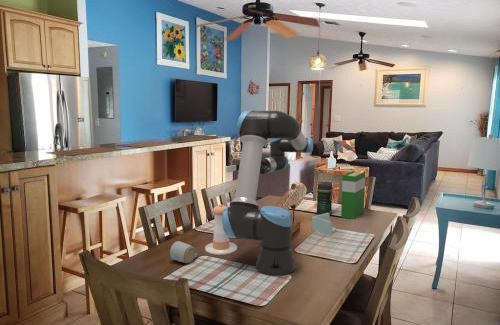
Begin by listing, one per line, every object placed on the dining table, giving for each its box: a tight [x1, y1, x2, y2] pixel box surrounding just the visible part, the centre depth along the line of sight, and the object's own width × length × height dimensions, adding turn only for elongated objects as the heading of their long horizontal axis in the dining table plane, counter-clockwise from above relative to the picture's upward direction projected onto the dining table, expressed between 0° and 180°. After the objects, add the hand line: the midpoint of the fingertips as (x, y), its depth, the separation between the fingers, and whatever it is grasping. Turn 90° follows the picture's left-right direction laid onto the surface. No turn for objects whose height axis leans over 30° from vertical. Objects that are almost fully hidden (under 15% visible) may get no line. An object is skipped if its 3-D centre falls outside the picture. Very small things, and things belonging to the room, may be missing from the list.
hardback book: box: [340, 170, 366, 220], centre depth 223 cm, size 18×7×24 cm, turn 147°
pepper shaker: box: [212, 204, 230, 250], centre depth 169 cm, size 7×7×19 cm
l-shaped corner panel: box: [311, 213, 337, 237], centre depth 195 cm, size 12×12×8 cm
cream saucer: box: [204, 242, 238, 256], centre depth 170 cm, size 14×14×1 cm
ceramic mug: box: [169, 240, 198, 264], centre depth 158 cm, size 11×8×8 cm
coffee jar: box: [316, 181, 333, 216], centre depth 225 cm, size 10×8×19 cm
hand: (236, 171), depth 181 cm, fingers open, 13 cm apart
